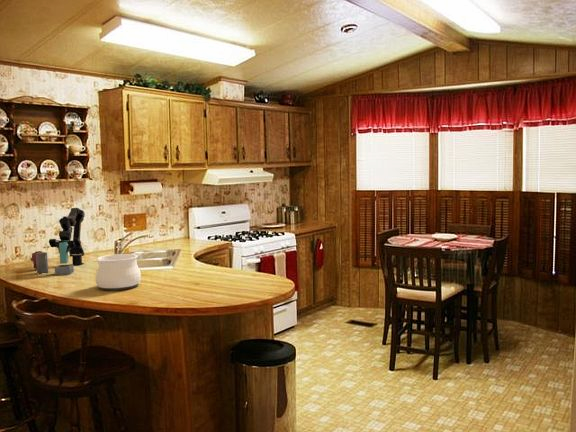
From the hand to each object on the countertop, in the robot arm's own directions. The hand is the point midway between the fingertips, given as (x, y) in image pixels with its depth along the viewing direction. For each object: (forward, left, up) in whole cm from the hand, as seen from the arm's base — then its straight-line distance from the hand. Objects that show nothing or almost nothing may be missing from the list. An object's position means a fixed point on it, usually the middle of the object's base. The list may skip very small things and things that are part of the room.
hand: (63, 253), depth 336 cm
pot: (+29, +55, -14) cm, 64 cm away
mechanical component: (-11, -27, -14) cm, 32 cm away
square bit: (-1, 0, -7) cm, 7 cm away
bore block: (-1, -1, -13) cm, 14 cm away
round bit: (-1, -17, -14) cm, 22 cm away
